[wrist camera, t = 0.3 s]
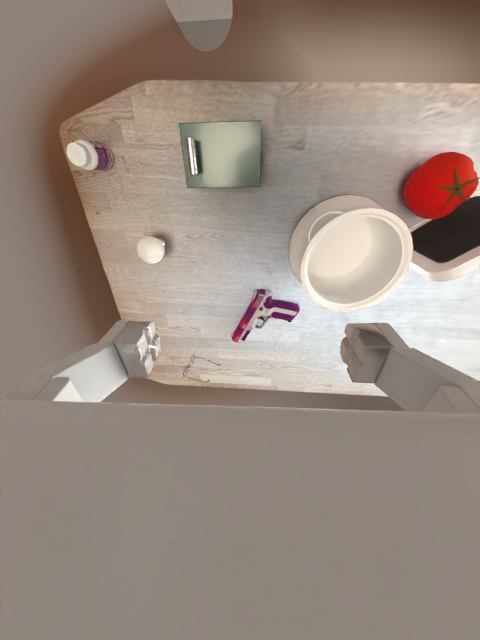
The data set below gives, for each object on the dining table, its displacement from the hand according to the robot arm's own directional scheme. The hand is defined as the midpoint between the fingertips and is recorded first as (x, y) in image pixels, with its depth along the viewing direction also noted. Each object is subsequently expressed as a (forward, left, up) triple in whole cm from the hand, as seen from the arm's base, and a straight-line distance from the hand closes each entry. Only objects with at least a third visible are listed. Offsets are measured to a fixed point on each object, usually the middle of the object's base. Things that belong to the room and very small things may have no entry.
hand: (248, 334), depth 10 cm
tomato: (-2, +39, -57) cm, 69 cm away
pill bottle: (-9, -36, -58) cm, 69 cm away
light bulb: (+11, -26, -58) cm, 64 cm away
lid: (-8, -7, -49) cm, 50 cm away
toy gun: (+40, +10, -55) cm, 69 cm away
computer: (+5, +43, -46) cm, 64 cm away
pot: (+12, +21, -57) cm, 62 cm away
